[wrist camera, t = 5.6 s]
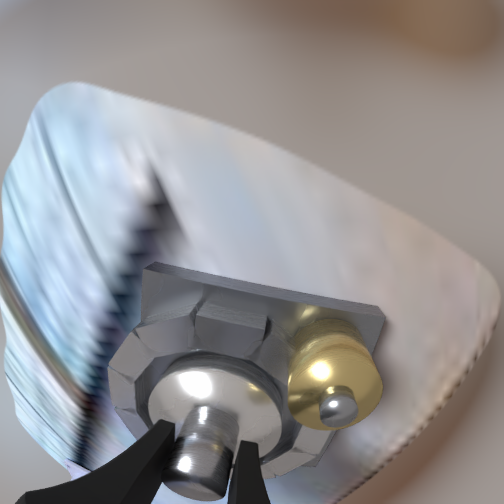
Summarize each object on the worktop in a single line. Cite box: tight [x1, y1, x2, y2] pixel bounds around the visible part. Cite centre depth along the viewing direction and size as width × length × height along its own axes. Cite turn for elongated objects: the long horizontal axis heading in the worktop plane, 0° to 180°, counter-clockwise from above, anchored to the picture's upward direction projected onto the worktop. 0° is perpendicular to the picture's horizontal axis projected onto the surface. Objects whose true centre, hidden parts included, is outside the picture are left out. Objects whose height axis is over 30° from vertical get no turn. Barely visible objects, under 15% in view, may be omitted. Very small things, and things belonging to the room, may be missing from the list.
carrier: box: [108, 262, 386, 480], centre depth 11 cm, size 11×11×5 cm
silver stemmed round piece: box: [148, 354, 282, 501], centre depth 10 cm, size 6×6×5 cm
